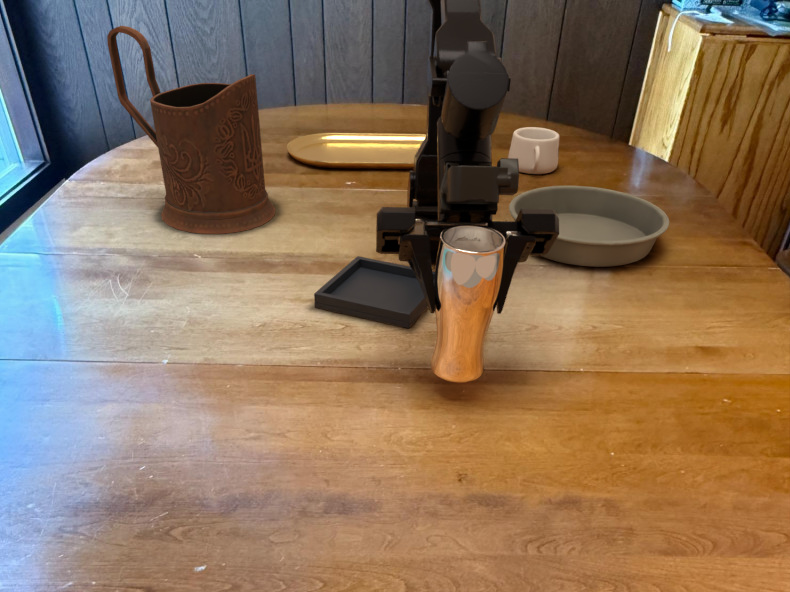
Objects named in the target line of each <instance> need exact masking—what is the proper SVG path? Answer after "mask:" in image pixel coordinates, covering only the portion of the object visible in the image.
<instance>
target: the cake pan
mask: <svg viewBox="0 0 790 592" xmlns="http://www.w3.org/2000/svg"><path fill="white" fill-rule="evenodd" d="M520 209H553V210H554V212H555V213H556V214H557V216H558V218H559V235H558V237H557V239H556V240H555V242H554V244H553V245H552V247H551V249H550V250H549V252H548V254H545V255H542V256H541V257H542V258H545V259H547V260H551V261H555V262H558V263H562V264H566V265H567V264H568V265H573V266H580V267H593V268H596V267H597V268H604V267H607V268H608V267H609V268H610V267H619V266H623V265H630V264H632V263H635V262H638V261H640V260H642V259H644V258H645V257H646V256H648V254H649V253H650V252H651V250H652V249H653V246H654V244H655V243H656V241H657V239H658V237H661V236H662V235H663V234H665V233H666V231H668V229H669V226H670V219H669V216H668V215H667V214H666V212H665V211H664V210H663V209H661V207H659V206H657V205H656V204H654V203H652V202H650V201H649V200H647V199H644V198H641V197H639V196H636V195H633V194H630V193H627V192H622V191H618V190H614V189H609V188H603V187H597V186H596V187H595V186H588V185H587V186H585V185H552V186H543V187H538V188H533V189H529V190H527V191H524V192H522V193H520V194H518V195H516V196H515V197H514V198H513V199H512V200H511V201H510V203H509V205H508V210H509V211H508V212H509V214H510V215H511V217H512V218H513V219H514V221H515V220H516V218H517V216H518V214H519V211H520Z"/></svg>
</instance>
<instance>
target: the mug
mask: <svg viewBox="0 0 790 592" xmlns="http://www.w3.org/2000/svg"><path fill="white" fill-rule="evenodd" d="M509 146H510V147H509V151H508V156H507V158H515V159H518V162H519V173H524V174H530V175H542V174H543V175H544V174H545V175H546V174H548V173H549V174H550V173H552V172H554V171H555V170H556V169H557V168H558V165H559V156H560V155H559V153H560V152H559V151H560V150H559V149H560V134H559V133H558V132H556V131H555V130H553V129H550V128H545V127H538V126H537V127H536V126H528V127H520V128H517V129H514V131H513V133H512V137H511V141H510V145H509Z"/></svg>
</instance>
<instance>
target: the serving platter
mask: <svg viewBox="0 0 790 592" xmlns="http://www.w3.org/2000/svg"><path fill="white" fill-rule="evenodd" d="M425 137H426V133H376V132H375V133H373V132H371V133H370V132H369V133H368V132H359V133H358V132H320V133H311V134H307V135H303V136H299V137H297V138H293V140H291V141H289V142H288V143H287V146H286V150H287V152H288V154H289V155H290V156H291V157H292V158H293V159H294V160H295V161H298V162H300V163H302V164H304V165H308V166H313V167H317V168H323V169H324V168H325V169H361V170H362V169H365V170H366V169H370V170H372V169H375V170H377V169H378V170H414V156H415V154H416V152H417V151H418V149H419V147H420V146H421V144H422V142H423V141H424V139H425Z"/></svg>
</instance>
